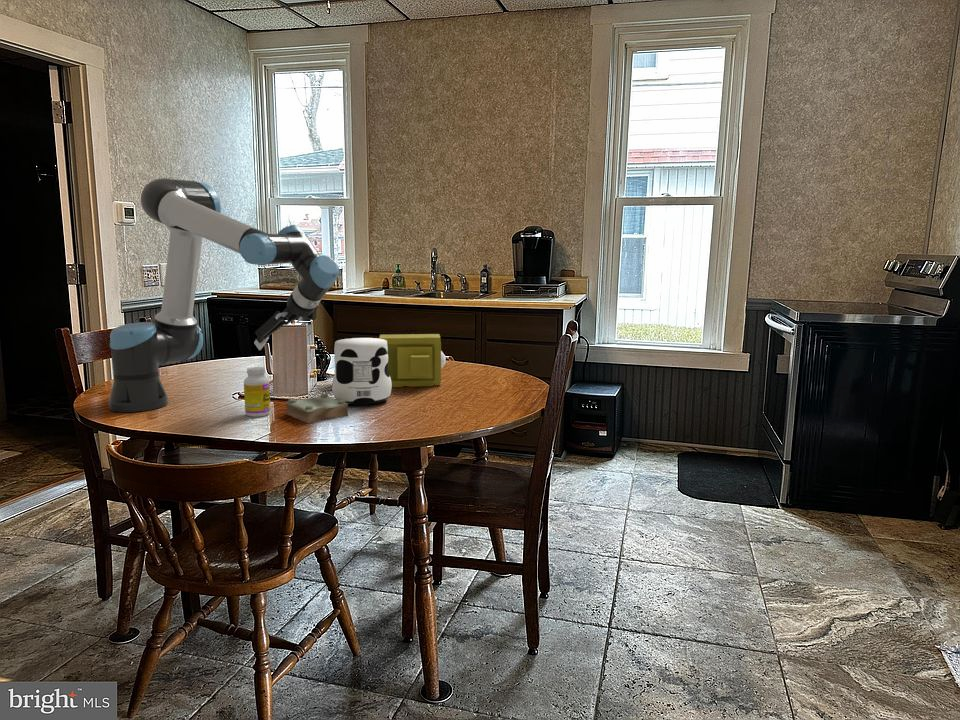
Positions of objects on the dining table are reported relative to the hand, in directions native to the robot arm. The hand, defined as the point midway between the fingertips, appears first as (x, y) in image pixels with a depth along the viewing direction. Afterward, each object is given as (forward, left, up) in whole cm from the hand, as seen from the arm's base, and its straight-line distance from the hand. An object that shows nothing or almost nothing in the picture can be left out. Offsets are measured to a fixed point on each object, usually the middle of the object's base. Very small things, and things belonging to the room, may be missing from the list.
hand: (276, 339), depth 200 cm
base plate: (0, -24, -18) cm, 30 cm away
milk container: (+18, -18, -19) cm, 31 cm away
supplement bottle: (-12, -13, -19) cm, 26 cm away
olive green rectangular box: (+37, -5, -19) cm, 42 cm away
